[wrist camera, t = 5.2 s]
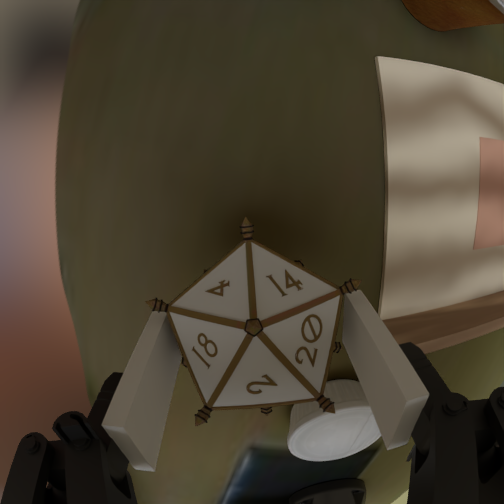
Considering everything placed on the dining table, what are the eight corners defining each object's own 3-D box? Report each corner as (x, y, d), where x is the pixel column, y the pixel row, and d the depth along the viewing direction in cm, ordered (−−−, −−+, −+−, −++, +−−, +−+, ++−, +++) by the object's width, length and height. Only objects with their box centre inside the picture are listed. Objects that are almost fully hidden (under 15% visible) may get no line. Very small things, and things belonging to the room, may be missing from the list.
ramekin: (382, 407, 32) (395, 437, 27) (303, 438, 34) (309, 470, 29) (364, 355, 28) (380, 390, 23) (267, 395, 30) (270, 433, 25)
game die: (238, 239, 20) (213, 144, 10) (354, 303, 18) (436, 263, 8) (164, 357, 18) (70, 366, 8) (282, 427, 16) (298, 510, 6)
